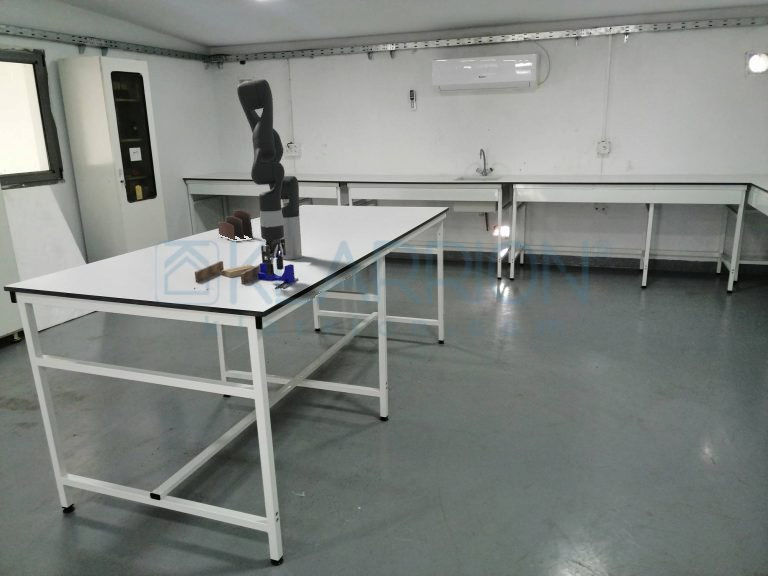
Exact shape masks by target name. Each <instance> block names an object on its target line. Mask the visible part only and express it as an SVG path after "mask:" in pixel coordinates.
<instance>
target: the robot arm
mask: <svg viewBox="0 0 768 576" xmlns="http://www.w3.org/2000/svg"><path fill="white" fill-rule="evenodd" d="M236 91H237V97H238V101H239V102H240V105H241V107H242V110H243V113H244V114H245V117H246V120H247V122H248V124H249V127H250V130H251V133H252V137H251V138H252V139H251V140H252V147H253V163H252V167H251V172H250V175H251V176H250V177H251V180H252V181H253V183H254V184H256V185H257V186H258V185H261V186H263V185H264V186H265V185H268V187H269V190H267V191H263V192H261V193H260V194H259V195H258V201H259V202H258V203H259V211H260V212H259V224H260V237H261V239H262V240H265V244H263V245H261V246H260V249H261V250H260V251H261V261H262V262H261V263H265V264H266V267H267V275H274V273H275V269H274V260H275V258H276V260H275V261H276V269H277V270H280V271H281V270H284V269H285V265H284V260H288V261H289V260H296V259H301V258H302V257H303V255H302V254H303V252H302V237H301V236H302V235H301V222H300V220H301V219H300V185H299V180H298V178H297V177H296V176H294V175H285V174H286V173H285V167H284V166H283V163H281V160H282V158H283V156H284V145H283V144H282V140H281V136H280V133H278V131H277V130H276V129H275V128H274V102H273V101H274V100H273V94H272V93H273V92H272V89H271V86H270V83H269V82H268V81H267V80H266V79H256V80H251V81H245V82H241V83H239V84H238V85H237V88H236ZM261 109H262V113H261V115H260V116H259V115H258V112H257V111H256V110H261ZM282 200H288V203H287V204H285V206H282Z"/></svg>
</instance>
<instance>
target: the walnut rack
mask: <svg viewBox="0 0 768 576" xmlns="http://www.w3.org/2000/svg"><path fill="white" fill-rule="evenodd" d="M254 266H255V267H253V268H251V269H249V270H247V271H245V272H243V273H241V275H240V281H241V283H240V284H241V285H246V284H247V283H249V282H252V281H253V280H255V279H258V273H260V263H259V264H258V265H254ZM222 270H225V269H224V261H223V260H219V261H217V262H214V263H213V264H212V263H211V264H210V265H208V266H206V267H203V268H200V269H198V270H196V271H194V277H195V283H200V282H202V281H205V280H207V279H209V278H211V277H213V276H215V275H218V274H219V273H220V274H221V273H222Z"/></svg>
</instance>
